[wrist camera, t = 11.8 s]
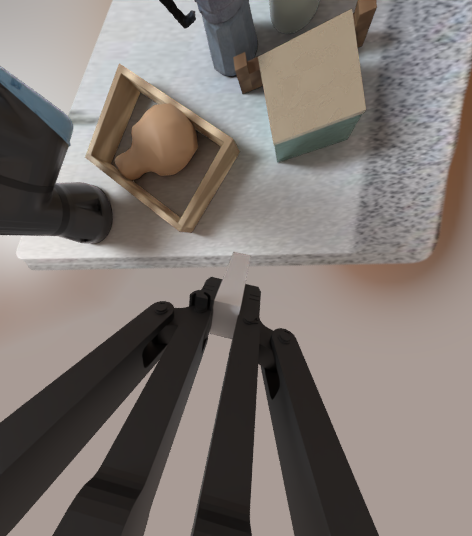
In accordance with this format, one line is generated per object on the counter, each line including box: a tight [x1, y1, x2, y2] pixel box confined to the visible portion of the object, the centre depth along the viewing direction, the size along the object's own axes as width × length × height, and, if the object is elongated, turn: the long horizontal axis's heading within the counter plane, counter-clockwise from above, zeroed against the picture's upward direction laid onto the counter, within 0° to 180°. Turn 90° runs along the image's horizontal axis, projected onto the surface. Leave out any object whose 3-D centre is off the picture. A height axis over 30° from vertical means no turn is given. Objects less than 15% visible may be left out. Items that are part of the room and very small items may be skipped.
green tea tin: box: [258, 9, 366, 163], centre depth 30 cm, size 12×12×8 cm
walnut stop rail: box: [233, 0, 377, 94], centre depth 30 cm, size 20×2×5 cm, turn 99°
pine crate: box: [85, 64, 240, 233], centre depth 40 cm, size 28×19×5 cm
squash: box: [115, 103, 198, 181], centre depth 38 cm, size 11×20×9 cm, turn 107°
